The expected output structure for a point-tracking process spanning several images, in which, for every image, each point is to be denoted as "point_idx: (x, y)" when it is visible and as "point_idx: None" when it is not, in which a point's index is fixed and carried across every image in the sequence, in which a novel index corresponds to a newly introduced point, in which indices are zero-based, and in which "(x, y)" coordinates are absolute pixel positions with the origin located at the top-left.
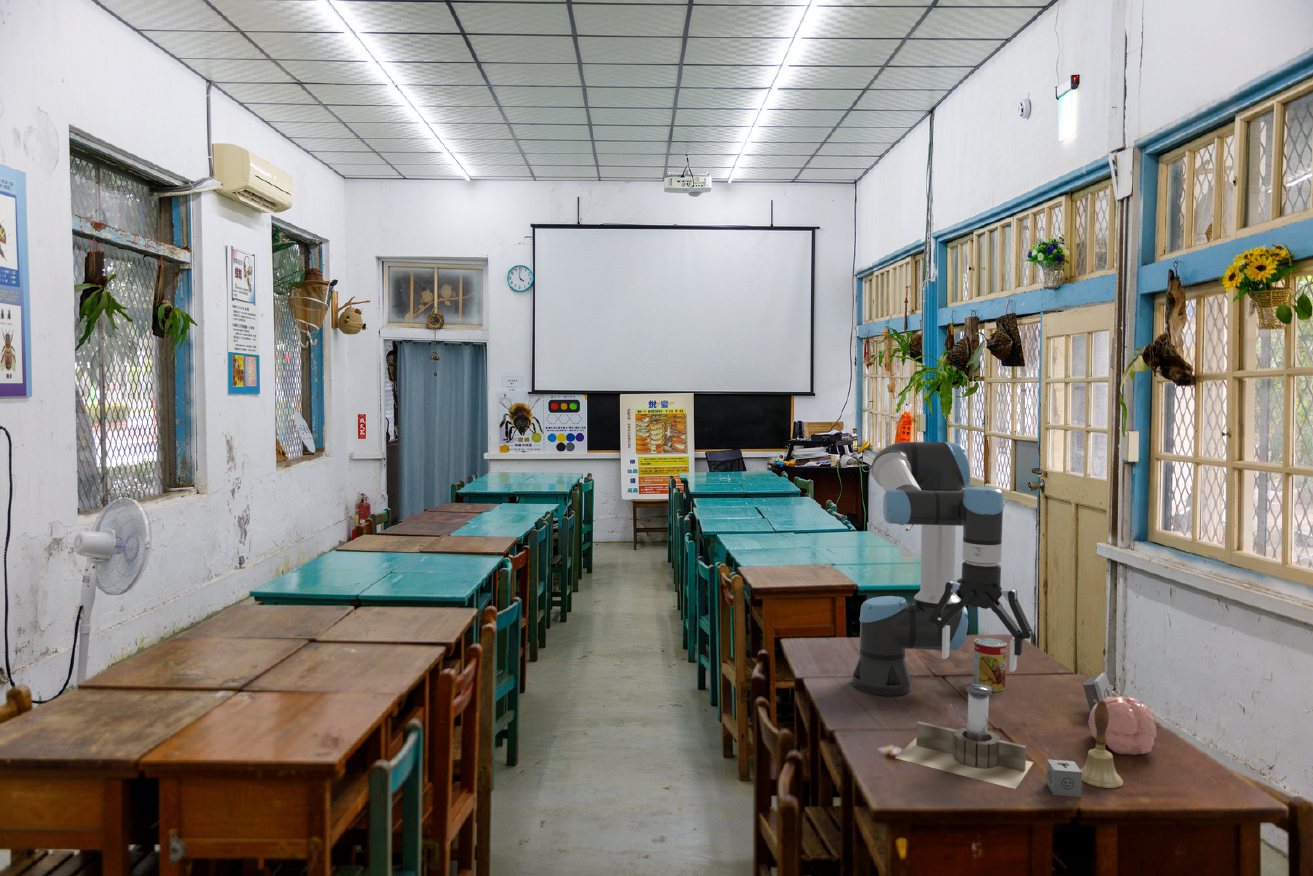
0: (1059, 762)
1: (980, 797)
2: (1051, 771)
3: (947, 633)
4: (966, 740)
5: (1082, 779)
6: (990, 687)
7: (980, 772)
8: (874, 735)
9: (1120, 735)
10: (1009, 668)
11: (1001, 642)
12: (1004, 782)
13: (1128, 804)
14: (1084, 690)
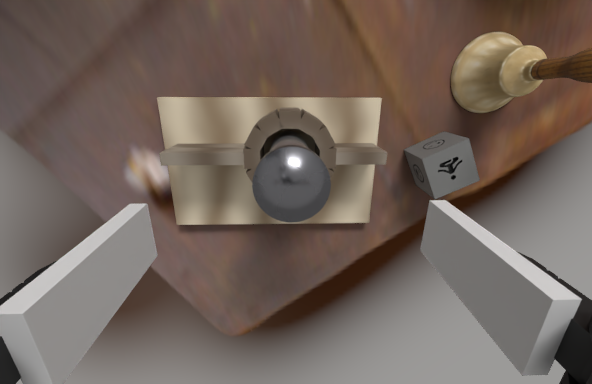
0: (443, 160)
1: (324, 251)
2: (425, 182)
3: (77, 326)
4: None
5: (460, 103)
6: (322, 163)
7: None
8: (84, 125)
9: None
10: (426, 257)
11: None
12: (350, 211)
13: (520, 150)
14: None
